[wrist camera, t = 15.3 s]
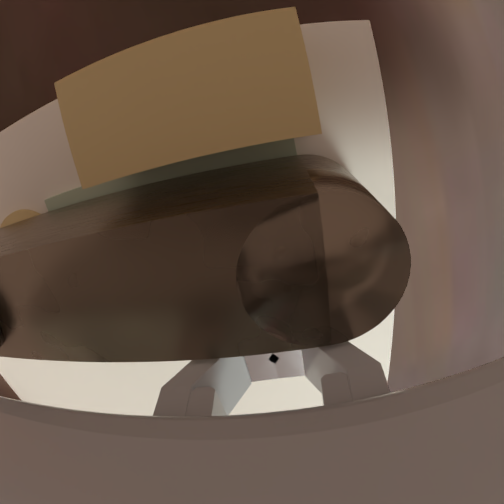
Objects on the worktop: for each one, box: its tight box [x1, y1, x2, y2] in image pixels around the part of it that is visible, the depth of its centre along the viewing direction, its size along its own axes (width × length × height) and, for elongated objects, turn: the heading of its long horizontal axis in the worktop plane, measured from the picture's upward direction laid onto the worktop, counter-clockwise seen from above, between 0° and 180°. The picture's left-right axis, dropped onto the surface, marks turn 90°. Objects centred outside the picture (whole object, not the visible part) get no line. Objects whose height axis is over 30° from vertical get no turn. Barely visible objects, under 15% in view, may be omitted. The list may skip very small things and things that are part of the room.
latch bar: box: [0, 154, 411, 362], centre depth 8 cm, size 14×4×5 cm, turn 101°
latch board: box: [0, 7, 396, 416], centre depth 12 cm, size 24×20×4 cm
